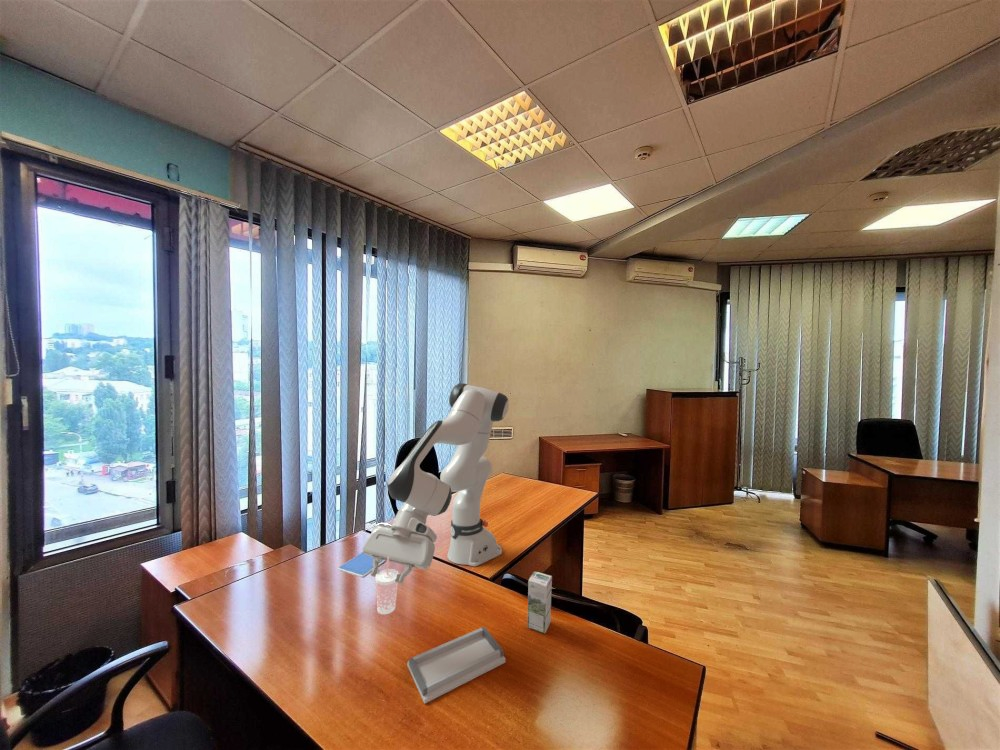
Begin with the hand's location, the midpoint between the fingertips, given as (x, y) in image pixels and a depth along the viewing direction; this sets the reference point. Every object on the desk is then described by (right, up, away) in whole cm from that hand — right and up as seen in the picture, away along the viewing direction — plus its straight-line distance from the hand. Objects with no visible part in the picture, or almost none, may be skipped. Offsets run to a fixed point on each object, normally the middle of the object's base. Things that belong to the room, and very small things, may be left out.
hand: (386, 579), depth 94 cm
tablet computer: (-21, -19, +44) cm, 53 cm away
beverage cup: (0, -8, +1) cm, 8 cm away
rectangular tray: (+19, -20, -3) cm, 28 cm away
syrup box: (+42, -21, +12) cm, 48 cm away
